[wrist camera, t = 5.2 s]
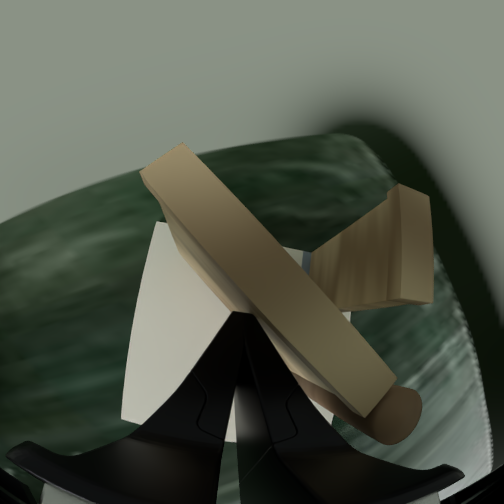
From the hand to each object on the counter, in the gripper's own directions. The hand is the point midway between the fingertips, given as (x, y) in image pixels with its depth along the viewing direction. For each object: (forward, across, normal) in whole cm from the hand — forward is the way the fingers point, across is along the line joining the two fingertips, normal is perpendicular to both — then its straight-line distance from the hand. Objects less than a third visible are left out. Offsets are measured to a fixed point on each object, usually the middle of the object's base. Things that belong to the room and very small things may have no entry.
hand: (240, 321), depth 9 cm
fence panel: (+5, 0, +3) cm, 5 cm away
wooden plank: (+5, -4, +4) cm, 7 cm away
